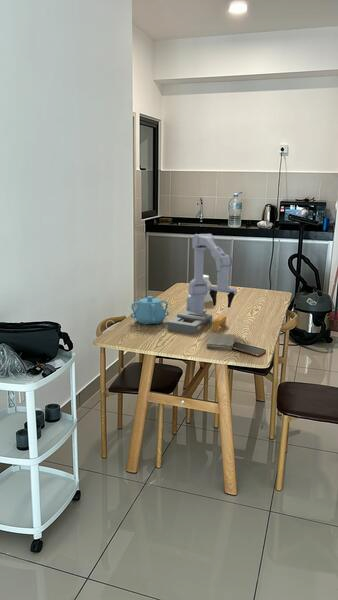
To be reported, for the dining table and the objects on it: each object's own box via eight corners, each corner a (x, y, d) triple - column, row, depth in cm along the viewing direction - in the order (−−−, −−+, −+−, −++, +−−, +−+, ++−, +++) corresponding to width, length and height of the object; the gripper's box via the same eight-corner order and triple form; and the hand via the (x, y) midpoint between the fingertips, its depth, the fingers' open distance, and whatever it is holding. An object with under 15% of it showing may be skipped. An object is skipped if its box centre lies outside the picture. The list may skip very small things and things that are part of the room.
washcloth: (205, 350, 208) (206, 343, 208) (210, 336, 225) (210, 330, 225) (233, 352, 206) (233, 345, 205) (235, 338, 223) (235, 332, 222)
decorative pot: (134, 329, 234) (134, 302, 231) (127, 317, 252) (127, 293, 249) (173, 326, 239) (174, 300, 236) (163, 315, 257) (163, 291, 254)
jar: (190, 301, 288) (190, 276, 285) (194, 297, 297) (195, 273, 293) (208, 302, 285) (209, 278, 281) (212, 299, 294) (213, 275, 290)
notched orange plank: (217, 331, 232) (217, 322, 231) (211, 330, 233) (212, 321, 232) (225, 325, 242) (226, 316, 241) (220, 324, 244) (220, 315, 242)
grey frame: (167, 329, 234) (167, 318, 233) (185, 318, 253) (185, 308, 252) (195, 334, 228) (195, 323, 226) (211, 322, 247) (212, 311, 245)
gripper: (206, 279, 234) (205, 306, 237) (234, 282, 228) (233, 309, 231) (211, 277, 240) (210, 303, 244) (239, 280, 234) (237, 306, 237)
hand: (221, 306), depth 238 cm, fingers open, 7 cm apart
